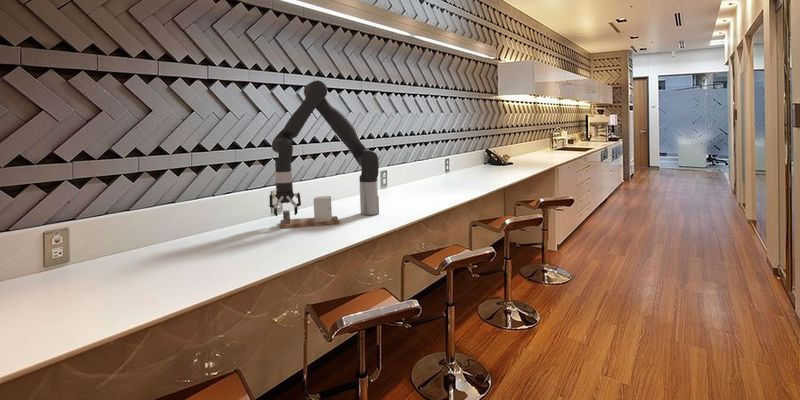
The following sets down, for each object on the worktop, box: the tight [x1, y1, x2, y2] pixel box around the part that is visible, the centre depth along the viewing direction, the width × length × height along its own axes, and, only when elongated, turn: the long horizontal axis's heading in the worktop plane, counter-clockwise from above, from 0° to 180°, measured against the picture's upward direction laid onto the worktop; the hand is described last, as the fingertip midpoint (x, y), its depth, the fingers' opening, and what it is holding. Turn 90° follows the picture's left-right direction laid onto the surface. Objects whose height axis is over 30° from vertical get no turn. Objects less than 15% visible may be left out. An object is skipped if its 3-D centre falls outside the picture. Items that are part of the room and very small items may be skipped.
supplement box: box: [313, 195, 333, 222], centre depth 211 cm, size 7×7×13 cm
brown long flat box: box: [279, 209, 341, 229], centre depth 210 cm, size 27×12×6 cm, turn 104°
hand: (286, 215), depth 207 cm, fingers open, 8 cm apart
